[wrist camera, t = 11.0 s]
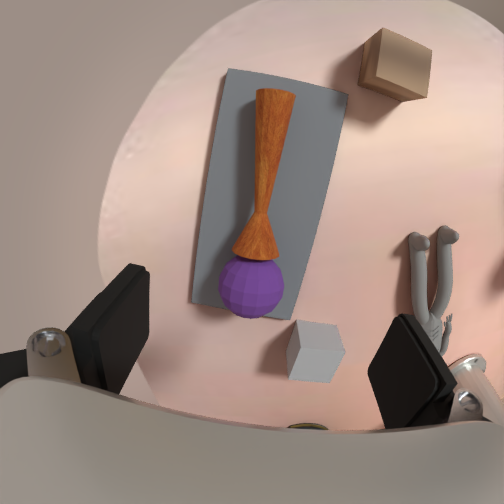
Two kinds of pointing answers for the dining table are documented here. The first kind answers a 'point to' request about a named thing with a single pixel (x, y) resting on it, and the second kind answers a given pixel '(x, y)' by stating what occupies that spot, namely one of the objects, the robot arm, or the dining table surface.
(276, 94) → the kendama
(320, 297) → the dining table surface
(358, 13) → the dining table surface
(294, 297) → the charcoal mat
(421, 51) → the walnut block
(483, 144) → the dining table surface
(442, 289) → the alien figure
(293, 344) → the grey block
